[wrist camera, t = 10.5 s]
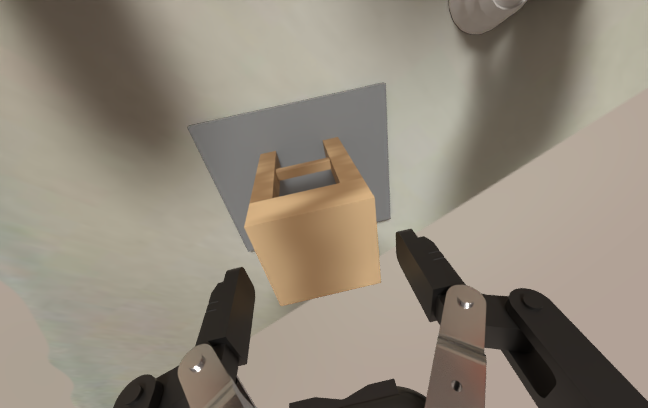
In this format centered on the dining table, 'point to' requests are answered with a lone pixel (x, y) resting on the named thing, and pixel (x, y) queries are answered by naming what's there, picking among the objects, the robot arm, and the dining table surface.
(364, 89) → the mat
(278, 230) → the light wood stool
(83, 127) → the dining table surface
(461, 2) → the chalice
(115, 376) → the dining table surface
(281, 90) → the dining table surface
